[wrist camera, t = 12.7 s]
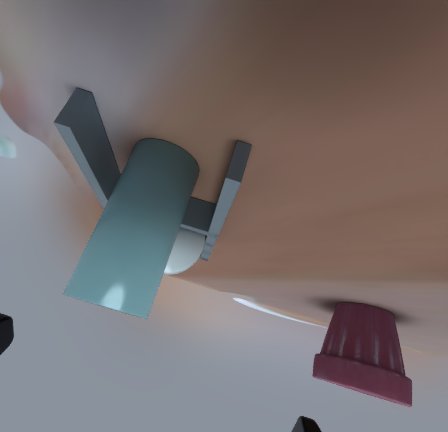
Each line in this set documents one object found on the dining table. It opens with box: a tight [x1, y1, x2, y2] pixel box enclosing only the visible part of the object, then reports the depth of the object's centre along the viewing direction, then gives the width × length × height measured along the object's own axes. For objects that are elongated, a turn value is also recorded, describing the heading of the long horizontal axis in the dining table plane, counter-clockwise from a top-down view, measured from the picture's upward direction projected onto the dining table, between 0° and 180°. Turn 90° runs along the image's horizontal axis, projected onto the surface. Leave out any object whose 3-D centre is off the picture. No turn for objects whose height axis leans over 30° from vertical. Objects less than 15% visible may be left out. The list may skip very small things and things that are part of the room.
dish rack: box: [54, 88, 252, 261], centre depth 28 cm, size 21×12×3 cm, turn 171°
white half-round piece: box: [164, 227, 205, 275], centre depth 29 cm, size 1×7×7 cm, turn 81°
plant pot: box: [313, 303, 412, 407], centre depth 48 cm, size 14×14×13 cm
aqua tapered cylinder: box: [63, 139, 200, 319], centre depth 22 cm, size 6×6×12 cm
